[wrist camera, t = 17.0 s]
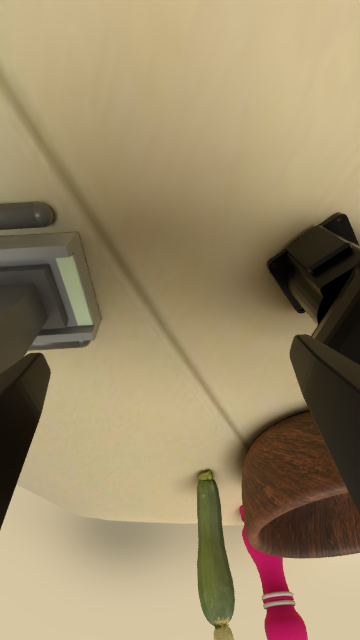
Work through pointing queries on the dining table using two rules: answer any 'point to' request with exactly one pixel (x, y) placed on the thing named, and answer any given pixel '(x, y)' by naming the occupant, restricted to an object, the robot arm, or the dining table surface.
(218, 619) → the vegetable
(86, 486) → the dining table surface
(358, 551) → the wooden bowl
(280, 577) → the pepper mill
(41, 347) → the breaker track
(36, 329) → the orange-capped post
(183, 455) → the dining table surface
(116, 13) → the dining table surface
